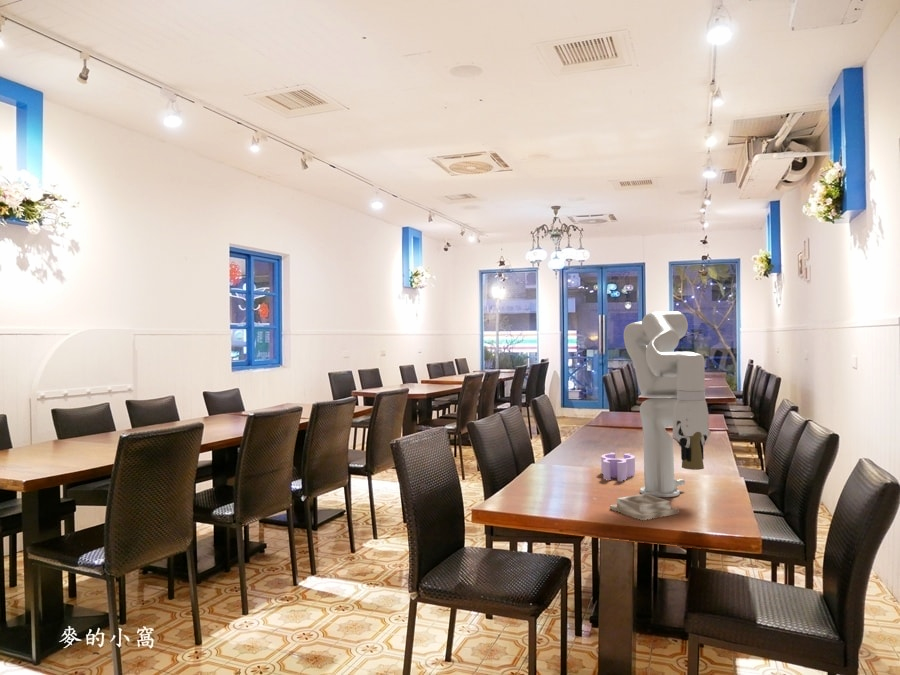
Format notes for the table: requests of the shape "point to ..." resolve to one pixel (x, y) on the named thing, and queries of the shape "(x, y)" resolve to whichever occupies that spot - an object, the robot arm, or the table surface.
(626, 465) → the clip
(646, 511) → the socket board
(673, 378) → the robot arm
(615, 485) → the table surface
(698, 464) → the cork
